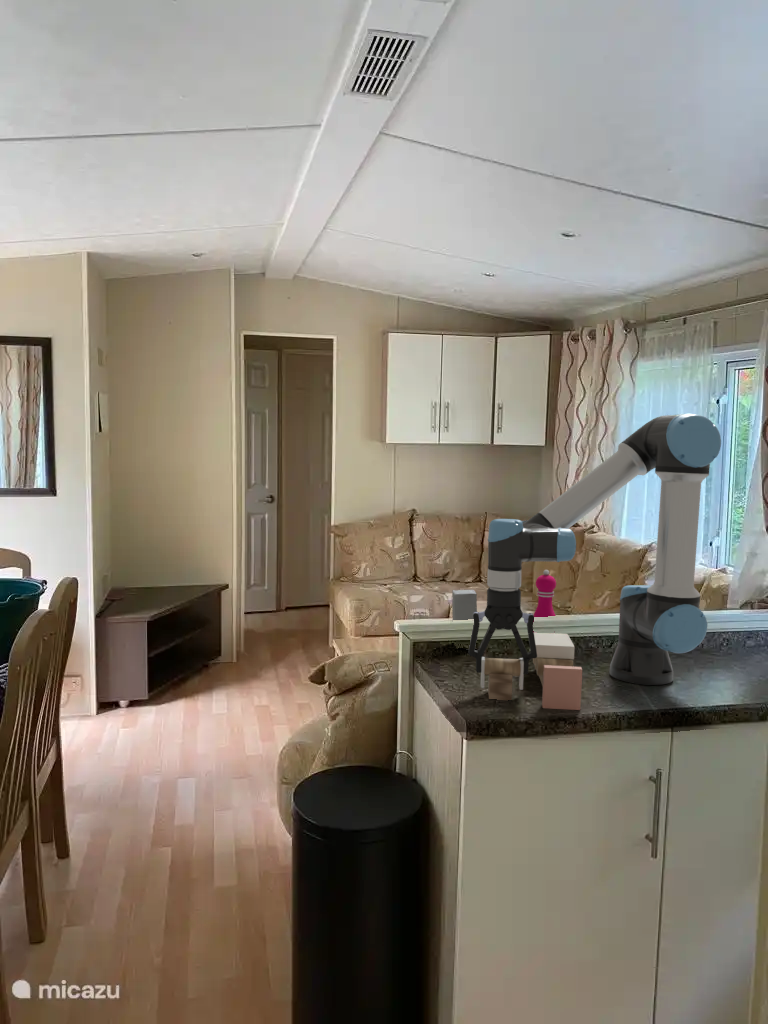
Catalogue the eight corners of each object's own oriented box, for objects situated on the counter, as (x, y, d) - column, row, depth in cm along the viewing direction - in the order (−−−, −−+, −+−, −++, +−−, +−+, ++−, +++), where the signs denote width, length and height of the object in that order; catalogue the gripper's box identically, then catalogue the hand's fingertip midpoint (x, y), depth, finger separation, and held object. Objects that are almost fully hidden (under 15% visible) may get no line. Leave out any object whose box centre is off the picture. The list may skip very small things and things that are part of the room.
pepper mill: (550, 639, 239) (553, 572, 237) (527, 636, 243) (530, 569, 241) (559, 635, 245) (562, 569, 243) (536, 631, 249) (539, 567, 247)
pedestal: (510, 692, 187) (510, 667, 186) (511, 700, 181) (512, 675, 180) (488, 691, 187) (489, 666, 187) (489, 699, 181) (490, 674, 181)
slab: (566, 645, 204) (567, 633, 203) (574, 659, 191) (574, 646, 190) (530, 643, 204) (531, 632, 204) (535, 657, 192) (535, 644, 191)
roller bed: (562, 669, 207) (563, 642, 207) (579, 707, 177) (580, 675, 177) (530, 667, 208) (531, 641, 207) (542, 705, 178) (543, 674, 178)
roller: (519, 673, 185) (519, 657, 185) (520, 678, 181) (520, 661, 181) (483, 672, 186) (484, 656, 186) (484, 677, 182) (484, 660, 182)
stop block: (579, 707, 177) (580, 666, 177) (580, 710, 175) (582, 669, 175) (542, 705, 178) (543, 665, 177) (542, 708, 176) (544, 667, 175)
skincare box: (478, 650, 224) (480, 594, 223) (452, 649, 224) (454, 593, 223) (474, 643, 233) (476, 588, 231) (450, 642, 233) (451, 587, 231)
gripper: (549, 586, 185) (546, 684, 187) (457, 583, 187) (455, 680, 189) (552, 592, 177) (549, 694, 179) (457, 589, 179) (455, 690, 181)
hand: (501, 687), depth 184 cm, fingers closed on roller, 8 cm apart
